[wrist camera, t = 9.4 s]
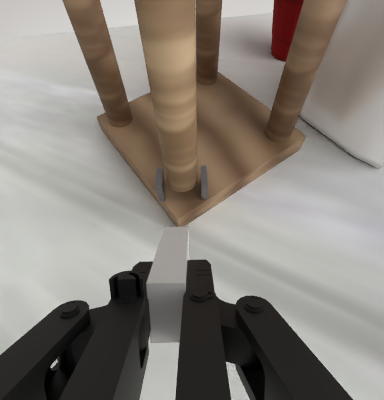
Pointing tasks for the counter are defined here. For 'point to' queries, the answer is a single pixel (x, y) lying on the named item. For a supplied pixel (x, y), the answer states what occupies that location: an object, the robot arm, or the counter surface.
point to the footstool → (208, 105)
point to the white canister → (352, 83)
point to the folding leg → (172, 83)
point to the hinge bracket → (162, 184)
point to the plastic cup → (284, 26)
